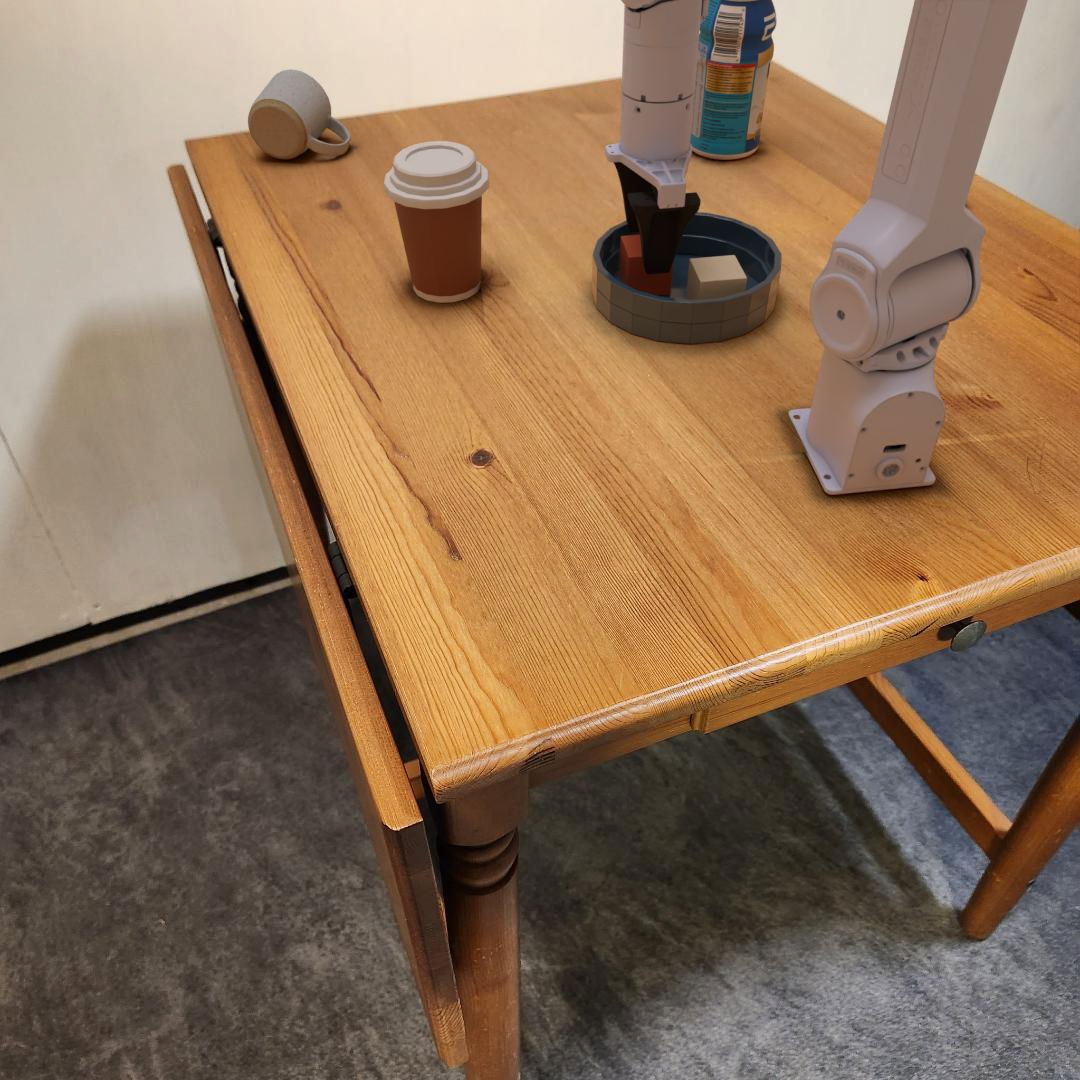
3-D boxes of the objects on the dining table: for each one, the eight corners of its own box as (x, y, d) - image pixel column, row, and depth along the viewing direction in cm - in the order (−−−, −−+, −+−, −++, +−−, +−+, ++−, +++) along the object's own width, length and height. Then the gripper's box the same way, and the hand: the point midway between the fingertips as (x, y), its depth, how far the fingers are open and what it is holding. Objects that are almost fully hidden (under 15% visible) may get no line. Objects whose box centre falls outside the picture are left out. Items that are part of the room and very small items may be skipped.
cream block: (741, 319, 82) (747, 277, 79) (695, 323, 81) (700, 281, 79) (729, 295, 84) (734, 254, 82) (685, 299, 84) (689, 258, 81)
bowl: (797, 341, 80) (806, 293, 77) (609, 357, 79) (610, 310, 76) (745, 249, 92) (751, 205, 88) (580, 262, 90) (581, 218, 87)
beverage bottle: (671, 142, 110) (686, -56, 96) (730, 127, 113) (753, -68, 99) (714, 168, 105) (736, -37, 91) (775, 152, 107) (806, -50, 93)
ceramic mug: (251, 161, 109) (235, 92, 103) (277, 133, 114) (263, 66, 109) (339, 167, 107) (328, 97, 102) (361, 138, 113) (351, 71, 108)
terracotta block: (670, 294, 85) (674, 253, 82) (626, 298, 85) (628, 257, 82) (661, 272, 88) (664, 232, 85) (619, 276, 87) (620, 235, 85)
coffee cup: (459, 320, 84) (447, 189, 75) (378, 294, 87) (357, 166, 79) (514, 274, 89) (508, 147, 81) (436, 252, 93) (422, 128, 84)
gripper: (593, 62, 79) (591, 216, 88) (624, 129, 69) (618, 295, 78) (675, 56, 79) (665, 210, 89) (719, 122, 69) (701, 288, 79)
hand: (648, 250), depth 84 cm, fingers open, 7 cm apart
